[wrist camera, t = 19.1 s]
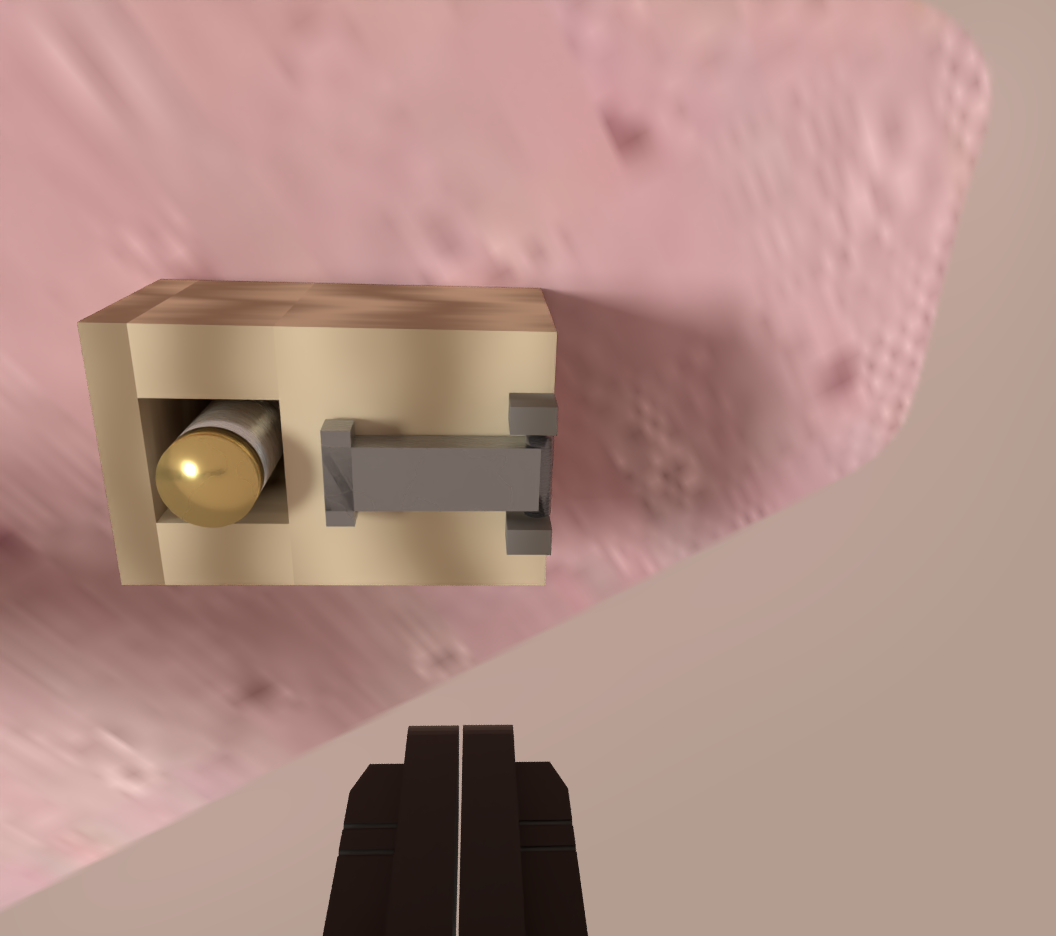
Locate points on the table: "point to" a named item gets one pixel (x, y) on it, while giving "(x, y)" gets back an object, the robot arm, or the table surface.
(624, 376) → the table surface
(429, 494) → the grey handle
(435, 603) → the table surface
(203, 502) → the pin
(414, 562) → the block
